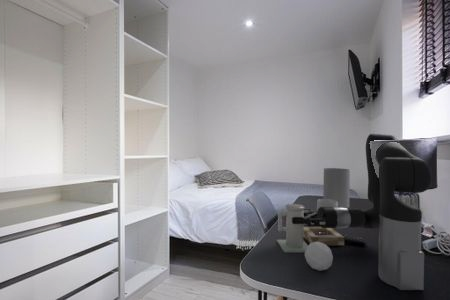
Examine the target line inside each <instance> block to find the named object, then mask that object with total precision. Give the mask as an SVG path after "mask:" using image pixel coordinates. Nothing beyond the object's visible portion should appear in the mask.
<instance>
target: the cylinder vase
mask: <svg viewBox="0 0 450 300" xmlns="http://www.w3.org/2000/svg"><path fill="white" fill-rule="evenodd" d="M350 176H351V169H348V168H337V167H336V168H335V167H325V168H323V185H322V186H323V187H322V188H323V189H322V190H323V193H322V194H323V196H322V199H331V200H335V201H337V202H338V207H344V208H350V193H351V191H350V184H351V181H350V180H351V177H350Z"/></svg>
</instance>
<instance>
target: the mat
mask: <svg viewBox="0 0 450 300" xmlns="http://www.w3.org/2000/svg"><path fill="white" fill-rule="evenodd" d="M276 242H277V244H278V245H279V247H280V248H281V250H282V251H283V252H284V253H286V254H287V253H292V254H293V253H305V251H306V247H307V246H308V245H309V243H307V242H306V241H305V239H303V247H302V248H291V247H289V246H287V245H286V239H276Z"/></svg>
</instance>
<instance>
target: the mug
mask: <svg viewBox="0 0 450 300" xmlns="http://www.w3.org/2000/svg"><path fill="white" fill-rule="evenodd" d="M316 202H317V203H316V212H317V211H318V209H319V207H338V202H337V201H335V200H331V199H323V198H319V199H317V200H316Z"/></svg>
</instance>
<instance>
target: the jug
mask: <svg viewBox="0 0 450 300" xmlns="http://www.w3.org/2000/svg"><path fill="white" fill-rule="evenodd" d="M285 209H286V210H285V211H278V212H277V231H278V232H285V234H286V235H285V240H286V245H287V246H289V247H291V248H302V247H303V240H304V237H303V230H304V227H305V225H304V224H293V223H292V217H303V218H304V217H305V216H304V210H305V209H306V208H305V205H303V204H298V203H297V204H296V203H289V204H285ZM283 217H286V220H285V221H286V222H285V226H283Z"/></svg>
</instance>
